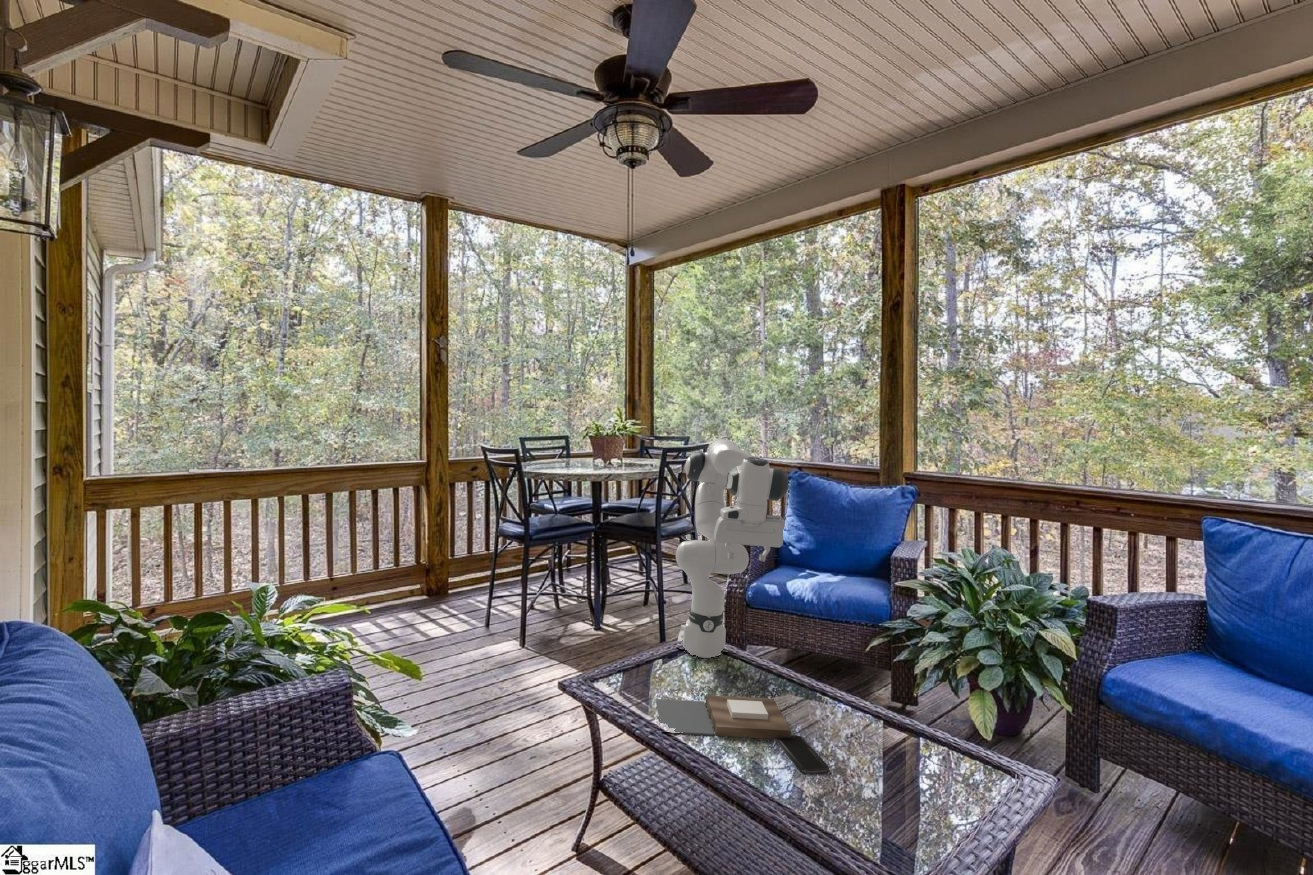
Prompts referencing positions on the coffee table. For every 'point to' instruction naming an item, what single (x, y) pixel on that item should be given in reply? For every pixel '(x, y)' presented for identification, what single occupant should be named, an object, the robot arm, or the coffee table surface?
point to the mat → (685, 716)
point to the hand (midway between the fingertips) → (746, 559)
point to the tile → (747, 709)
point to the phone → (802, 755)
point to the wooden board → (746, 719)
